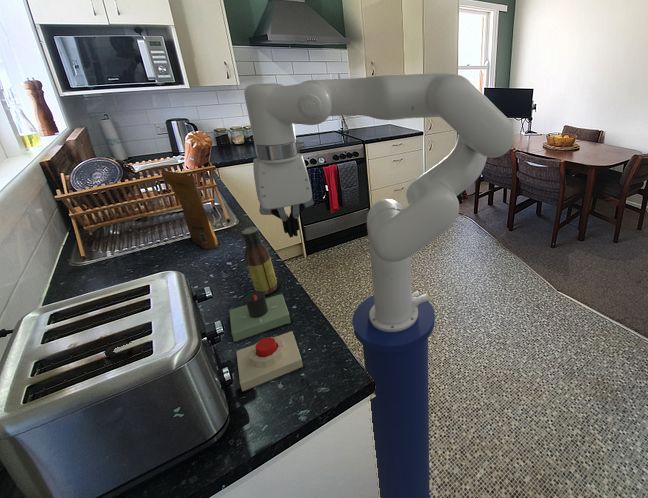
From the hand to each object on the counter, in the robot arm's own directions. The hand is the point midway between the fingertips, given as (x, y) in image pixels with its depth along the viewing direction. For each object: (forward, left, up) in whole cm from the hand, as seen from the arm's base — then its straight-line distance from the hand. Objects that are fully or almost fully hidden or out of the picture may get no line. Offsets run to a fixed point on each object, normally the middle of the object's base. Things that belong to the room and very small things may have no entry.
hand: (292, 234), depth 75 cm
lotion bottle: (+30, +11, -27) cm, 42 cm away
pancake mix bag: (+23, -67, -27) cm, 76 cm away
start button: (+10, +5, -24) cm, 26 cm away
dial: (+10, -11, -25) cm, 29 cm away
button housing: (+10, +5, -27) cm, 29 cm away
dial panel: (+10, -11, -27) cm, 31 cm away
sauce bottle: (+7, -24, -27) cm, 37 cm away
